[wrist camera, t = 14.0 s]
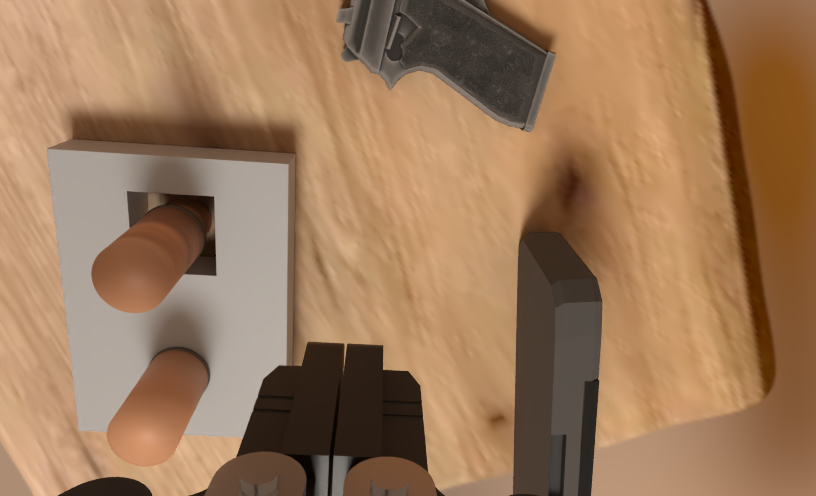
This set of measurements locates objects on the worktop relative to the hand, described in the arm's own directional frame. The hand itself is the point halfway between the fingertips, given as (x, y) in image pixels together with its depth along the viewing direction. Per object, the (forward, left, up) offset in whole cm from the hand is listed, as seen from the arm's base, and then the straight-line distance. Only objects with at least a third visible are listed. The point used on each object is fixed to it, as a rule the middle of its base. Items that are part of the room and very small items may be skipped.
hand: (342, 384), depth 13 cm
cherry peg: (+6, -11, -27) cm, 30 cm away
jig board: (+10, -11, -27) cm, 31 cm away
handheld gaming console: (+16, +12, -27) cm, 34 cm away
